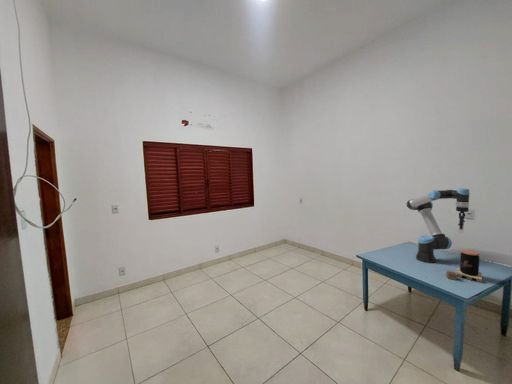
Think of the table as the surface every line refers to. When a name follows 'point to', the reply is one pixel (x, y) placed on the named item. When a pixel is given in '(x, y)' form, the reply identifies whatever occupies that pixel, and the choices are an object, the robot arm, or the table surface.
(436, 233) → the robot arm
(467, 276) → the pallet dock
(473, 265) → the coffee jar
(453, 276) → the cargo block
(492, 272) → the table surface
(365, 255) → the table surface
